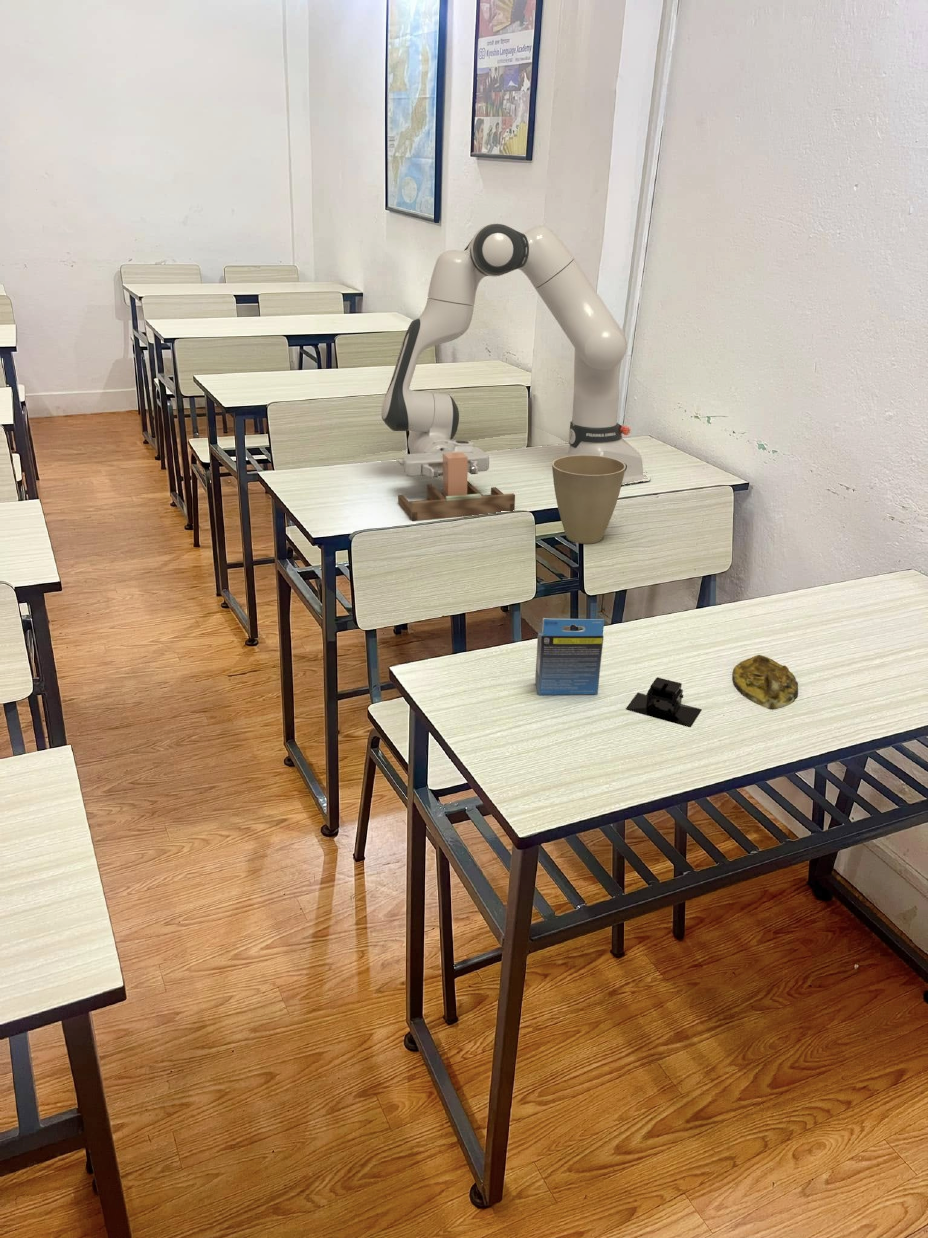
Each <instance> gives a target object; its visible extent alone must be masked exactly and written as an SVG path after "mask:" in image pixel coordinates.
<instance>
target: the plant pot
mask: <svg viewBox="0 0 928 1238" xmlns="http://www.w3.org/2000/svg"><path fill="white" fill-rule="evenodd" d="M551 467H552V468H551V470H552V479H553V486H554V494H555V499H556V504H557V509H558V513H559V516H560V521H561V525H562V527H563V530H564V534H565V536H566V539H567V540H568V541H570V542H572V543H576V544H582V545H583V544H585V545H588V544H591V545H592V544H596V543H598V542H600V541H602V539H603V537H604V534H605V533H606V530H607V528H608V526H609V523H610V521H611V519H612V517H613V514H614V512H615V509H616V505H617V502H618V499H619V496H620V493H621V488H622V486H621V485H622V481H623V477H624V473H625V468H626V465H625V464H624V463H623V462H621V461H619V460H617V459H614V458H610V457H605V456H597V455H572V456H568V455H566V456H561V457H558V458H556V459H554V460H553V461H552V463H551Z"/></svg>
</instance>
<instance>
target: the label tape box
mask: <svg viewBox="0 0 928 1238" xmlns="http://www.w3.org/2000/svg"><path fill="white" fill-rule="evenodd" d="M572 625H573V626H575V627H577V628H582V630H563V628H565V627H566V628H567V627H569V628H570V627H571V626H572ZM604 625H605V619H604V618H598V619H597V618H595V619H593V618H590V619H589V618H587V619H586V618H545V617H543V618H542V629H541V632H542V633H538V634H537V642H536V643H537V645H536V662H535V676H534V677H535V680H534V681H535V682H534V683H535V687H536V691H537V695H539V696H556V695H557V696H558V695H559V696H560V695H562V696H564V695H599V683H600V676H601V675H600V673H601V666H602V657H603V656H602V654H603V646H604V628H605V626H604Z"/></svg>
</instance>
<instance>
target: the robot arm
mask: <svg viewBox="0 0 928 1238" xmlns="http://www.w3.org/2000/svg"><path fill="white" fill-rule="evenodd" d="M516 270H520V271H521V272H522V273H523V274H524V275H525V276H526V277H527V278H528V280H529V281H530V283H531V284H532V286H533V288H534V289H535V291H536V292H537V294H538V295H539V296H540V298H541V299H542V301H543V303H544V304H545V305H546V307H547V308H548V310H549V311H550V313H551V314H552V316H553V317H554V319H555V320H556V322H557V323H558V324H559V326H560V328H561V330H562V331H563V333H564V334H565V335H566V338H568V340H569V342H570V343H571V345H572V346H573V348H574V362H573V363H574V364H573V367H574V368H573V369H574V370H573V374H574V375H573V401H572V413H571V414H572V415H571V421H570V423H569V432H568V444H569V447H568V453H567V456H572V455H597V456H605V457H610V458H614V459H617V460H619V461H621V462H623V463H624V464H625V465H626V468H625V473H624V477H623V481H622V485H623V484H625V483H630V482H634V481H638V480H642V479H648V478H644V477H647V476H646V475H643V473H645V472H643V470H644V467H643V458H642V456H641V454H640V452H639V451H638V450H637V449H635V448H634V447H633V446H632V445H631V444H630V443H629V442H628V441H626V440H625V439H624V438H623V435H624V436H628V435H629V434H630V433H631V428H630V427H629V426H626V425H621V424H620V423H618V410H619V399H620V363H621V362H622V360H623V359H624V357H625V355H626V353H627V347H628V346H627V345H628V341H627V337H626V334H625V333H624V331H623V329H622V328H621V327H620V325H619V323H618V322H617V321H616V318H614V316H613V314H612V313H611V311H610V310H609V308H608V307H607V305H606V304H605V301H603V299H602V298H601V296H600V295H599V293H598V292H597V291H596V289H595V287H594V286H593V284H592V283H591V282H590V280H589V278H588V277H587V276H586V273H585V272H584V270H583V269H582V268H581V266H580V264H579V263H578V262H577V260H576V259H575V257H574V256H573V254H572V253H571V251H570V250H569V249H568V247H567V246H566V244H564V242H563V240H561V239H560V238H559V237H558V235H557V234H556V233H555V232H554V231H553V230H552V229H551V228H549V227H548V226H546V225H537V226H533V227H531V228H529V229H528V230H526V231H525V232H520V231H518V230H516V229H514V228H512V227H510V226H508V225H505V224H502V223H490V224H487V225H484V226H482V227H481V228H480V229H479V230H477V231H476V233H475V234H474V235H473V238H472V239H471V241H469V243H468V245H466V247H465V248H464V249H463V250H457V249H455V250H454V249H453V250H446V251H444V252H442V253H441V254H440V255H439V256H438V257H437V259H436V262H435V265H434V268H433V271H432V275H431V278H430V282H429V286H428V287H429V288H428V293H427V300H426V303H425V307H424V308H423V311H422V313H421V314H420V315H419V317H418V318H416V319H414V320H412V321H411V322H410V324H409V326H408V327H407V330H406V332H405V335H404V338H403V341H402V345H401V347H400V349H399V353H398V357H397V361H396V364H395V367H394V371H393V373H392V377H391V380H390V383H389V385H388V388H387V391H386V393H385V396H384V398H383V402H382V404H381V419H382V421H383V423H385V425H386V426H387V427H388V428H390V430H392V431H393V432H408V431H409V432H410V433H409V435H408V437H407V446H408V450H409V453H408V454H405V455H403V457H402V458H399V459H398V460H397V463H398V465H399V466H403V472H404V475H405V476H406V477H413V478H414V477H424V476H427V477H431V478H438V477H443V453H456V452H462V453H463V454H465V455H466V456H467V457H468V473H469V474H470V475H478V474H479V472H487V471H488V470H489V469H490V456H489V455H488V453H487V452H485V451H484V450H483V449H481V448H480V447H477V446H475V445H474V444H475V443H474V442H472V441H466V440H455V439H454V437H455V436H456V434H457V431H458V426H459V423H460V410H459V407H458V405H457V403H456V401H455V399H454V398H453V397H452V396H451V395H450V394H448V393H441V392H432V391H431V392H429V391H423V390H422V391H421V390H413V389H411V388H410V386H411V383H412V379H413V377H414V373H415V370H416V366H417V364H418V360H419V358H420V356H421V355H422V354H423V353H424V352H425V350H427V349H429V348H432V347H434V346H437V345H438V346H439V345H442V344H445V343H449V342H452V341H455V340H457V339H458V338H460V337H462V336H463V335H464V334H465V333H466V332H467V331H468V330H469V328H470V326H471V323H472V318H473V315H474V308H475V303H476V302H475V301H476V294H477V290H478V286H479V284H480V282H481V280H483V279H484V278H485V277H500V276H503V275H506V274H508V273H511V272H513V271H516ZM622 434H623V435H622Z"/></svg>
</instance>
